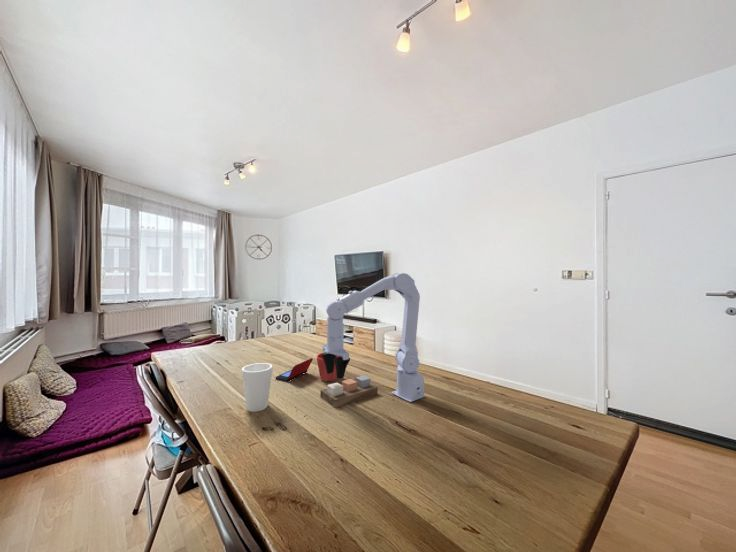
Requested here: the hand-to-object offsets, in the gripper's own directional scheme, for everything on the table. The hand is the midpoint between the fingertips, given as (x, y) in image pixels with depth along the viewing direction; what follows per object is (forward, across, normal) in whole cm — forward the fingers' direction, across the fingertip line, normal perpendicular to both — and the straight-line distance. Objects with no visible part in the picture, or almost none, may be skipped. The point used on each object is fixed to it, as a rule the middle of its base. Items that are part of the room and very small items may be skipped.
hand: (335, 375), depth 99 cm
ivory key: (+6, 0, 0) cm, 6 cm away
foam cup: (+9, -11, -23) cm, 27 cm away
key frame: (+8, 0, +6) cm, 10 cm away
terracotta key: (+6, 0, +6) cm, 9 cm away
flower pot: (+9, -19, +9) cm, 23 cm away
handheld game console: (+9, -30, -2) cm, 31 cm away
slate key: (+6, 0, +12) cm, 14 cm away
